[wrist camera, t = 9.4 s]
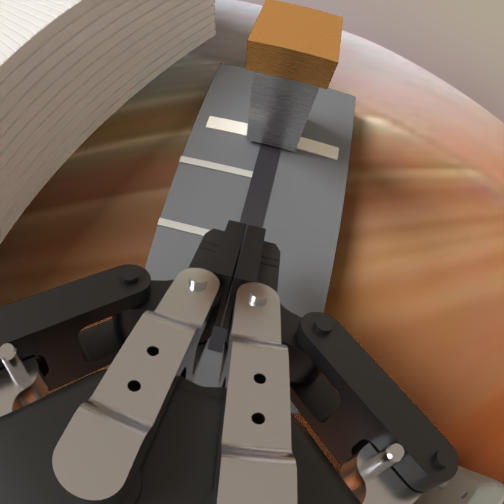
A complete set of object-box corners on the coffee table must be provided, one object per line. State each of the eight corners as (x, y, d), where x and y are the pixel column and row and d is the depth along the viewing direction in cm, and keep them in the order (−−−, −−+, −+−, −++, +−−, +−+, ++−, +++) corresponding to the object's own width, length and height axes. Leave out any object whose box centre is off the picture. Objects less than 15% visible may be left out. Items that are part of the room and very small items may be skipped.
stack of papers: (142, 5, 24) (126, -74, 14) (215, 36, 23) (214, -64, 13) (-73, 233, 18) (-146, 200, 8) (-38, 312, 17) (-134, 297, 7)
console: (130, 364, 18) (119, 369, 15) (220, 80, 22) (220, 62, 20) (291, 404, 18) (298, 414, 16) (347, 112, 22) (356, 95, 20)
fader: (240, 142, 18) (247, 40, 10) (254, 98, 19) (266, -2, 11) (298, 157, 18) (338, 62, 10) (308, 112, 19) (343, 17, 11)
